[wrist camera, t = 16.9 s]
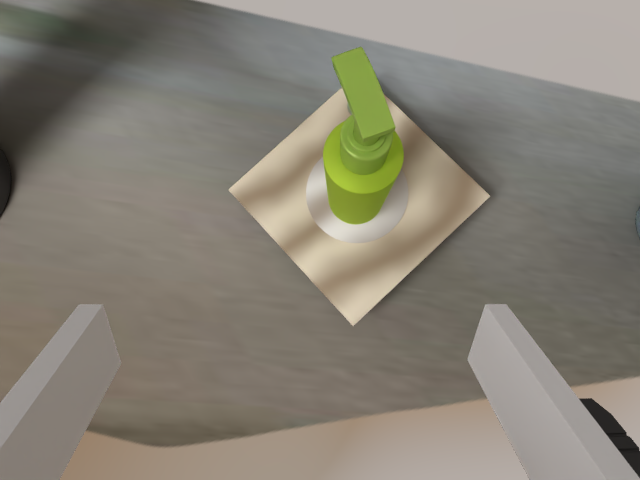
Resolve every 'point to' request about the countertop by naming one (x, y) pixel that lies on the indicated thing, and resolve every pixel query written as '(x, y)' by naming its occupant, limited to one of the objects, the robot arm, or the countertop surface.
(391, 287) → the stand
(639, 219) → the blue-grey cup
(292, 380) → the countertop surface
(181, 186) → the countertop surface
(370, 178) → the soap dispenser
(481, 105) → the countertop surface
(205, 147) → the countertop surface
